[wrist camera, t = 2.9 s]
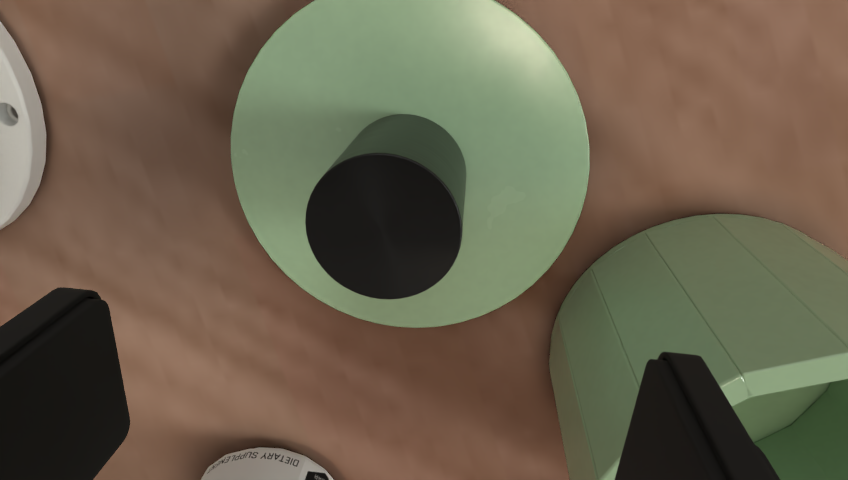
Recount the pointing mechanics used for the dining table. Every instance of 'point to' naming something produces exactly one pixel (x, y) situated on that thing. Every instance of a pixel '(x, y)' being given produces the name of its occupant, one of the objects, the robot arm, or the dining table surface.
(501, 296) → the lid
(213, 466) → the supplement can
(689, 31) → the dining table surface
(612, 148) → the dining table surface
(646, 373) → the robot arm
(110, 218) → the dining table surface
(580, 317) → the tin
